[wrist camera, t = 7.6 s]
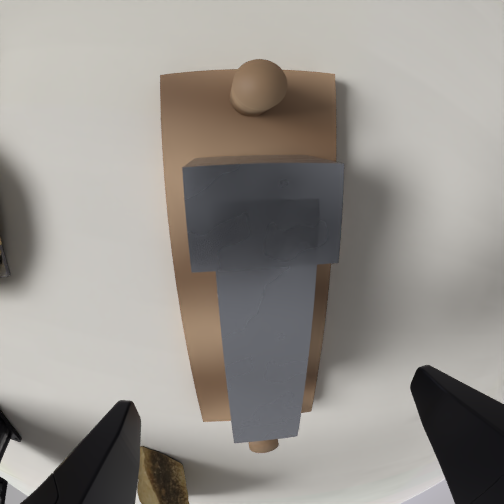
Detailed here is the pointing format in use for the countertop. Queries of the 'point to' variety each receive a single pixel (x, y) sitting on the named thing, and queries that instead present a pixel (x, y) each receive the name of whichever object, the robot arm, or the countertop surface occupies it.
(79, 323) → the countertop surface
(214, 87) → the peg rack
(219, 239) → the bar
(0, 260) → the dark grey rounded knob
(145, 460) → the rock
